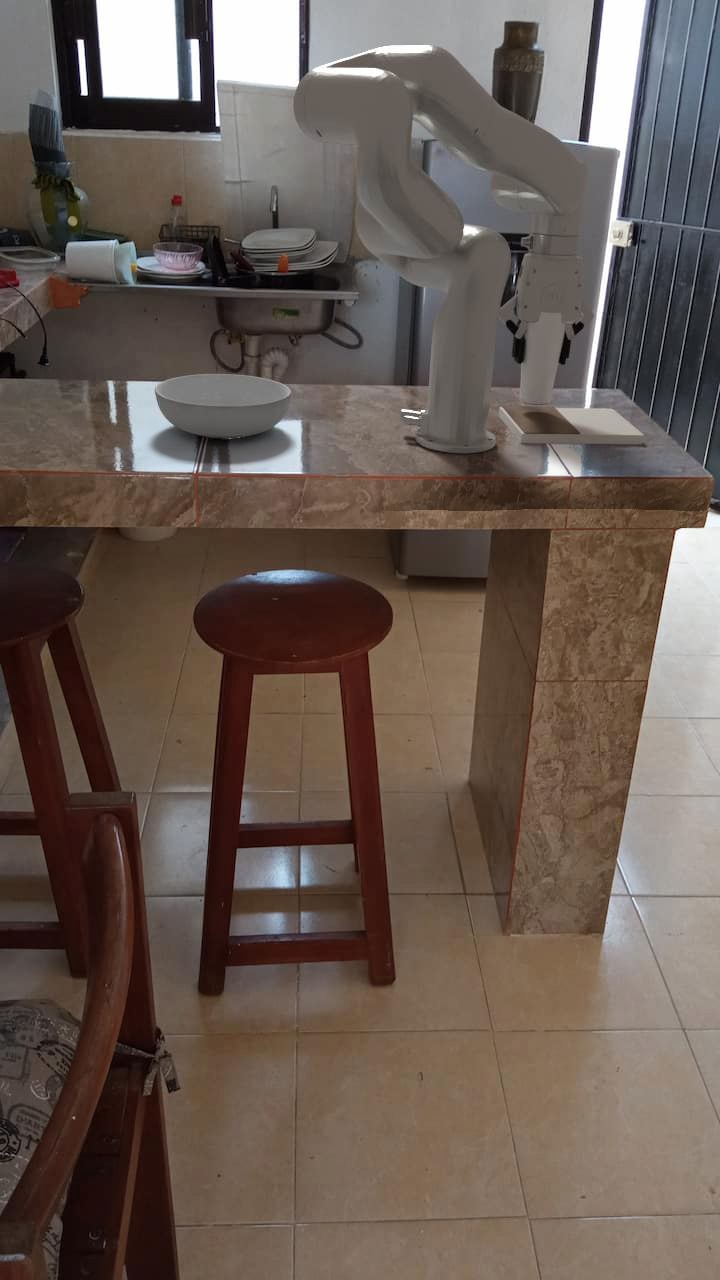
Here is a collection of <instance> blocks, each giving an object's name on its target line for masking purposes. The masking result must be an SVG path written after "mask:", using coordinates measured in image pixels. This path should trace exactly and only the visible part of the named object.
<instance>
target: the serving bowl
mask: <svg viewBox="0 0 720 1280" xmlns="http://www.w3.org/2000/svg"><path fill="white" fill-rule="evenodd" d="M154 395H155V399H156V403H157V406H158V409H159V410H160V413H161V414H162V415H163V417H164V418H165V419H166V420H167V421H168V422H169V423H170V424H171V425H173V426H174V427H176V428H178V429H180V430H182V431H184V432H187V433H189V434H194V435H197V436H201V437H203V436H205V437H204V438H207V437H210V438H209V439H213V438H223V439H222V440H227V439H226V438H237V439H239V438H238V437H243V436H246V437H251V436H253V435H258V434H261V433H263V432H266V431H268V430H271V429H272V428H274V427H275V426H276V425H277V424H279V423H280V422H281V421H282V420H283V419H284V417H285V415H286V414H287V412H288V409H289V406H290V403H291V398H292V397H291V396H292V390H291V388H290V387H288V386H287V385H285V384H283V383H281V382H279V381H276V380H272V379H269V378H264V377H259V376H254V375H253V376H252V375H245V374H232V373H231V374H230V373H229V374H227V373H203V374H190V375H183V376H178V377H171V378H169V379H167V380H163V381H161V382H159V383H158V384H157V385H156V386H155V387H154ZM243 438H244V437H243Z"/></svg>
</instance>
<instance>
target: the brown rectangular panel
mask: <svg viewBox="0 0 720 1280" xmlns="http://www.w3.org/2000/svg"><path fill="white" fill-rule="evenodd" d="M502 407H503V408H504V410H505V411H506V412H507V413H508V414H509V416H510V417H511V418H512V419H513V420H514V422H515V423H516V424H517V425H518V426H519V427H520V429H521V430H522V431H523V432H524V433H525V434H580V432H579V431H578V430H577V429H576V428H575V427H574V426H573V425H572V424H571V423H570V422H569V421H568V420H567V419H566V418H565V417H564V416H563V415H562V414H561V413H560V412H559V411H558V410H557V409H556V408H557V407H555V406H537V405H531V406H525V405H523V406H522V405H520V406H519V405H513V406H512V405H502Z"/></svg>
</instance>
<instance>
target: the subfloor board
mask: <svg viewBox="0 0 720 1280" xmlns="http://www.w3.org/2000/svg"><path fill="white" fill-rule="evenodd" d="M555 408H556V409H557V410H558V411H559V412H560V413H561V414H562V415H563V416H564V417H565V418H566V419H567V420H568V421H569V422H570V423H571V424H572V425H573V426H574V427H575V428H576V429H577V430H578V431H579V432H580V434H525V433H524V432H523V431H522V430H521V429H520V427H519V426H518V425H517V424H516V423H515V422H514V420H513V419H512V418H511V417H510V416H509V414H508V413H507V412H506V411H505V410H504V408H503V406H499V409H498V417H499V418H500V420H501V421H502V422H503V423H504V425H505V426H506V427H507V428H508V430H509V431H510V432H511V433H512V435H513V436H514V437H515V438H516V440H517V441H518V442H519V443H520V444H546V445H547V444H548V445H549V444H550V445H551V444H554V445H555V444H556V445H558V444H560V445H561V444H562V445H564V444H569V445H570V444H571V445H574V444H575V445H576V444H577V445H578V444H579V445H643V444H644V438H645V434H643V432H641V431H640V430H638V428H636V427H635V426H634V425H633V424H632V423H630V422H629V421H628V420H627V419H626V418H624V416H622V415H621V414H620V413H618V412H617V411H616V410H615V409H613V408H599V407H598V408H595V407H594V408H592V407H591V408H589V407H588V408H586V407H583V408H582V407H581V408H580V407H555Z"/></svg>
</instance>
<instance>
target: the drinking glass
mask: <svg viewBox="0 0 720 1280" xmlns="http://www.w3.org/2000/svg"><path fill="white" fill-rule="evenodd" d="M565 327H566V324H563V323H562V322H561V313H560V312H541V313H540V318H539V321H538V322H536V323H528V327H527V329H526V331H525V333H524V337H523V338H524V339H525V348H524V357H523V363H521V364H520V386H519V395H518V398H519V400H520V401H521V402H522V403H524V404H527V405H531V406H545V405H548V404H550V402H551V401H552V397H553V390H554V385H555V379H556V376H557V371H558V366H559V364H560V363H559V358H560V354H561V349H562V345H563V340H564V334H565Z"/></svg>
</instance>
